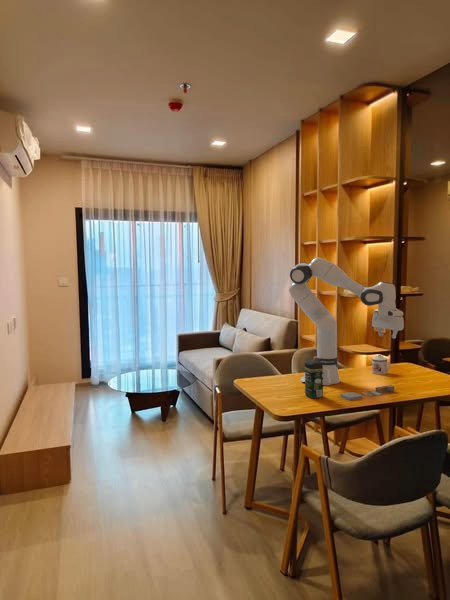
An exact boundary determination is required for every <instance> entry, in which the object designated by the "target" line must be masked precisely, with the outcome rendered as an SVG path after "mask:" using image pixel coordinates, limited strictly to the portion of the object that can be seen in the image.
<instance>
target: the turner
mask: <svg viewBox="0 0 450 600" xmlns="http://www.w3.org/2000/svg"><path fill="white" fill-rule="evenodd" d="M388 393H389V394H391V393H395V386H394V385H392V384H389V385H383V386H382V385H381V386H376V387H375V390H371V391H364V392H363V391H362V394H361V395H363V396H367V397H369V398H373V397H380V396H382V394H383V395H384V394H388Z"/></svg>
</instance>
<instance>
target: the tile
mask: <svg viewBox="0 0 450 600" xmlns="http://www.w3.org/2000/svg"><path fill="white" fill-rule="evenodd" d="M363 397H364V394H360V393H357V392H354V391H352V392H346V393H340V398H342V399H344V400H346V401H348V402H350V401H351V402H352V401H356V400H362V399H363Z"/></svg>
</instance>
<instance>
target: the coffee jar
mask: <svg viewBox="0 0 450 600" xmlns="http://www.w3.org/2000/svg"><path fill="white" fill-rule="evenodd" d="M322 371H323V365H322V363H320V362H318V361H315V360H314V359H306V360H305V361H304V374H305V383H304V394H305V395H306V396H307V397H308V398H311V399H320V398H323V397H324V385H323V382H322Z"/></svg>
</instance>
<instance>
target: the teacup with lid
mask: <svg viewBox="0 0 450 600" xmlns="http://www.w3.org/2000/svg"><path fill="white" fill-rule="evenodd" d="M371 360H372V361H371V363H372V370H371V371H372V372H371V373H372V374H373V375H374V374H375V375H380V376H382V375H383V376H384V375H387V374H388V371H390V370H391V364H390V363H388V358H387V357H384V356H382V354H380V353H379V354H377V356H374V357H372V358H371Z"/></svg>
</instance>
